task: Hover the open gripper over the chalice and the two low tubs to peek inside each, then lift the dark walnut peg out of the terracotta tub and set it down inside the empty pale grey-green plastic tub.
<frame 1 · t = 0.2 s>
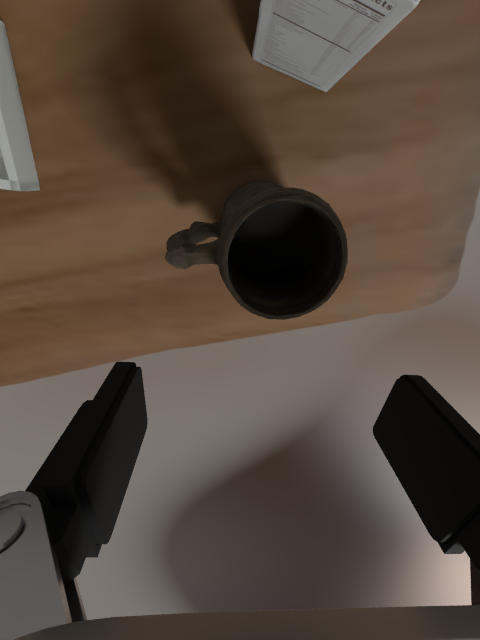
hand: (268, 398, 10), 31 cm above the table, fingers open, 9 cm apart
beer stein: (242, 227, 36), on the table
supplement box: (305, 22, 27), on the table
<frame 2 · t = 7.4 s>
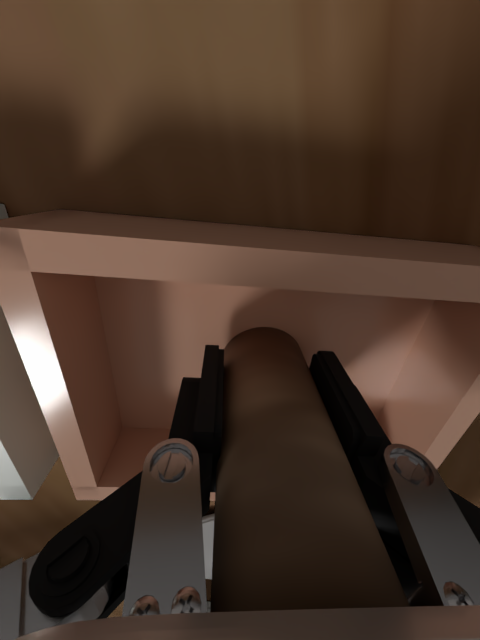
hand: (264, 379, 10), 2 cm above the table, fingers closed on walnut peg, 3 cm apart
terracotta tub: (260, 353, 12), on the table
walnut peg: (261, 361, 11), point 1 cm above the table, touching gripper, terracotta tub
chalice: (243, 539, 21), on the table
when the fingers open (3 cm above the table, at t = 12.9 s): walnut peg drops 2 cm, resting on grey tub.
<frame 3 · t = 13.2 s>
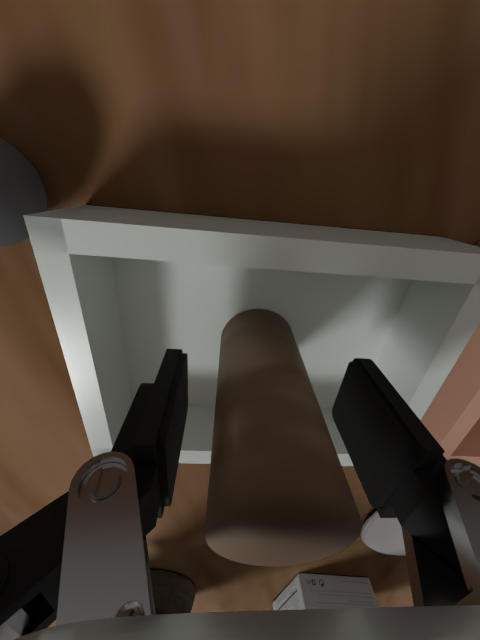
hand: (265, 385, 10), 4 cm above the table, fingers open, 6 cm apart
grey tub: (256, 334, 13), on the table
walnut peg: (256, 340, 13), point 1 cm above the table, touching grey tub
beer stein: (140, 577, 28), on the table
chalice: (422, 516, 24), on the table
supplement box: (318, 587, 32), on the table
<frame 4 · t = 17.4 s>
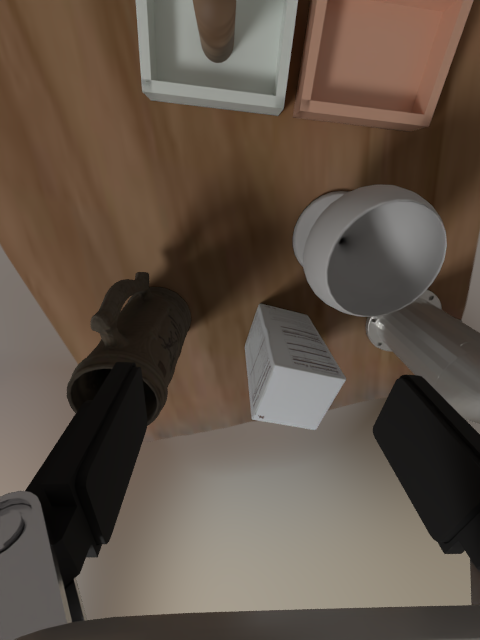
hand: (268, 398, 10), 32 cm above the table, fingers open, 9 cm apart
terracotta tub: (366, 64, 29), on the table
grey tub: (218, 43, 28), on the table
walnut peg: (217, 40, 28), point 1 cm above the table, touching grey tub
beer stein: (154, 302, 43), on the table
chalice: (331, 235, 39), on the table
supplement box: (275, 330, 46), on the table
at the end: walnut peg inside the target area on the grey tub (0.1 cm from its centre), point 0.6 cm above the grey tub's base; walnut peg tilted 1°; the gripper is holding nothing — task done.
